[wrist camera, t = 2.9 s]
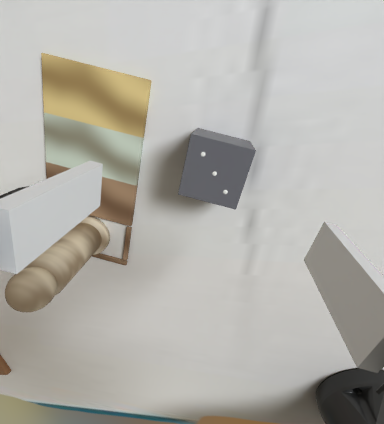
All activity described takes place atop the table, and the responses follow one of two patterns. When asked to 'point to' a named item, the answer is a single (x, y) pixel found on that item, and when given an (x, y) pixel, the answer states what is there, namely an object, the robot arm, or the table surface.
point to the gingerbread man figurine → (4, 367)
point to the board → (96, 131)
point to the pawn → (56, 266)
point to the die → (216, 168)
